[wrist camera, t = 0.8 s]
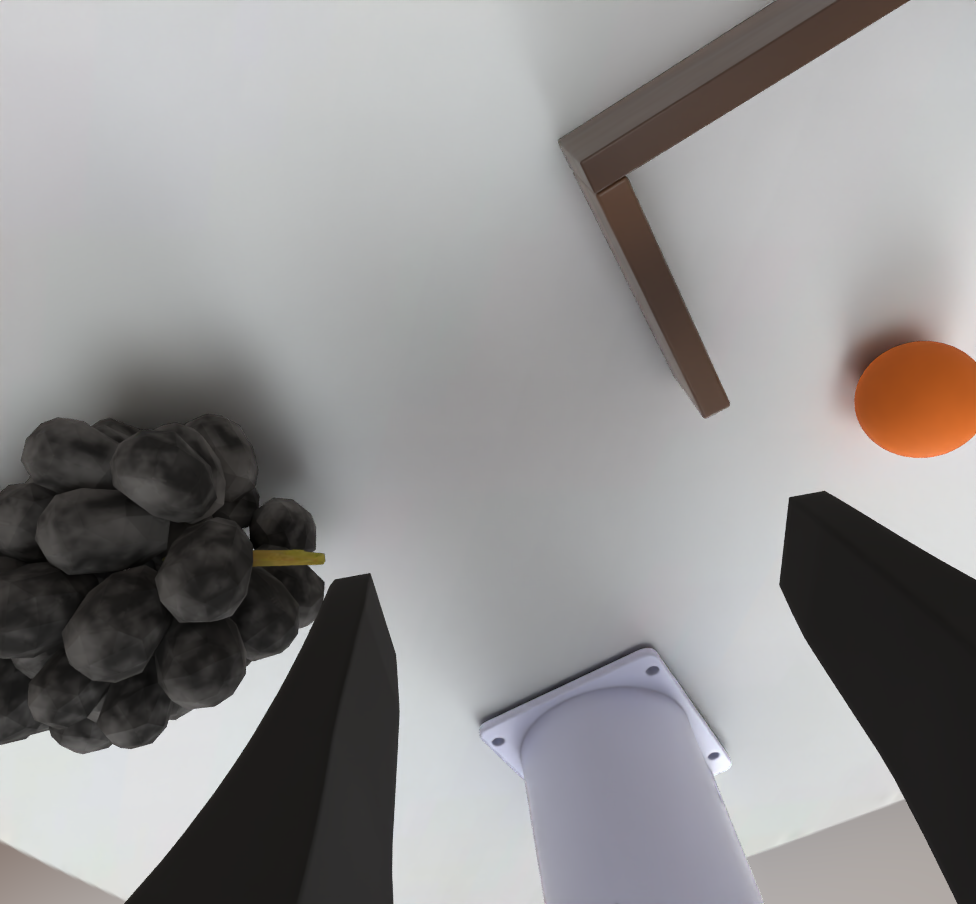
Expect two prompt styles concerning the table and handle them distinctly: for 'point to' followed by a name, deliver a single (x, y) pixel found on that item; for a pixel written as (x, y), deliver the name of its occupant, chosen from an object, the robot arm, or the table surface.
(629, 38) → the table surface
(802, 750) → the table surface
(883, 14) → the brown u-shaped wall
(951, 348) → the ball
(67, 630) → the fruit
